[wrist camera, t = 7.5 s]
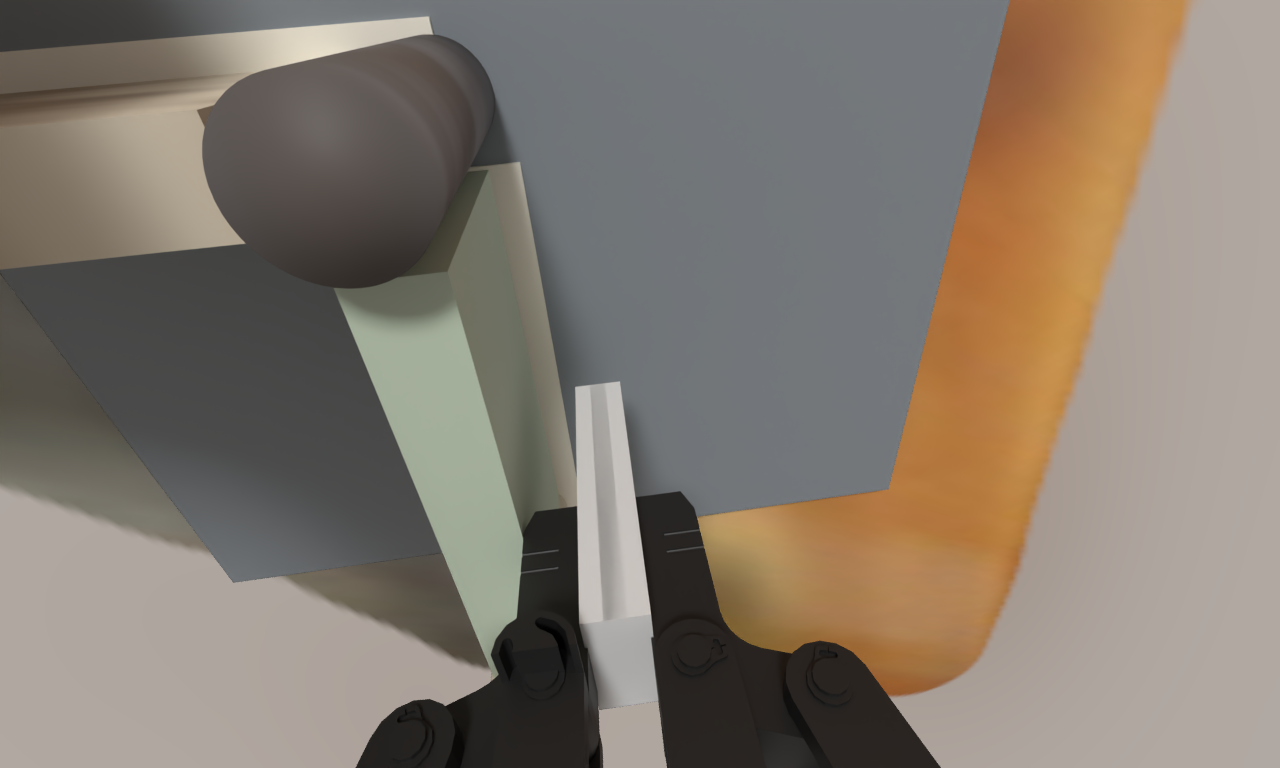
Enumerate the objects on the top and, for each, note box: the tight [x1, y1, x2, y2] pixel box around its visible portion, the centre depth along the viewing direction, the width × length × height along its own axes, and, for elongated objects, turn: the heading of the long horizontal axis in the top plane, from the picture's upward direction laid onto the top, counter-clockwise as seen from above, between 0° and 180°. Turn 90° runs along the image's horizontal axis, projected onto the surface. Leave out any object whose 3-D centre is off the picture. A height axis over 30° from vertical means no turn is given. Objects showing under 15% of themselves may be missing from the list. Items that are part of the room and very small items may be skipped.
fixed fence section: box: [0, 34, 495, 289], centre depth 9 cm, size 14×2×8 cm, turn 94°
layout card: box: [0, 0, 1010, 582], centre depth 16 cm, size 24×18×1 cm
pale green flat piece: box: [334, 170, 567, 681], centre depth 14 cm, size 12×2×6 cm, turn 4°
